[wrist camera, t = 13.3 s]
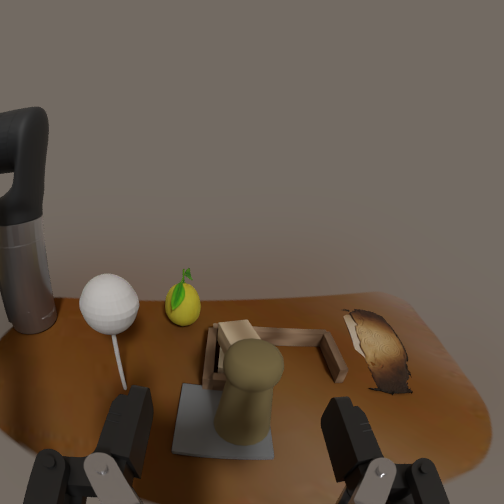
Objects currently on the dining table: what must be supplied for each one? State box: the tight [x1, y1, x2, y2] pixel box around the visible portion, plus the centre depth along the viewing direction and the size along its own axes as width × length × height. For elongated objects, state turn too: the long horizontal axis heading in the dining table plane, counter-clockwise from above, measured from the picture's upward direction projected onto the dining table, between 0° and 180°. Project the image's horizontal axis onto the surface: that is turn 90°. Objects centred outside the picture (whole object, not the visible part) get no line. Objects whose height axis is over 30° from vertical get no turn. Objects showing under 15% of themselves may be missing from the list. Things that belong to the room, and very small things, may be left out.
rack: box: [202, 323, 348, 391], centre depth 36 cm, size 19×12×2 cm, turn 93°
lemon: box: [165, 268, 201, 326], centre depth 41 cm, size 7×6×10 cm
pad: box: [172, 383, 274, 460], centre depth 26 cm, size 10×10×1 cm
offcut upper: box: [217, 320, 261, 355], centre depth 34 cm, size 4×6×3 cm, turn 23°
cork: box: [214, 338, 284, 446], centre depth 23 cm, size 6×6×11 cm
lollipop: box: [79, 274, 139, 390], centre depth 25 cm, size 6×6×15 cm
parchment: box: [343, 309, 413, 395], centre depth 42 cm, size 25×10×1 cm, turn 174°
